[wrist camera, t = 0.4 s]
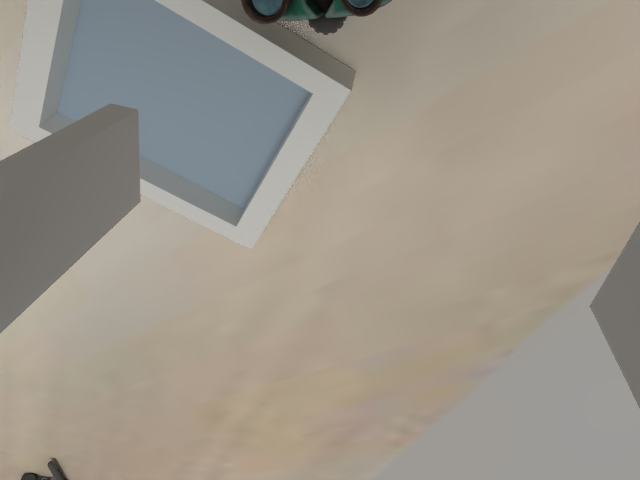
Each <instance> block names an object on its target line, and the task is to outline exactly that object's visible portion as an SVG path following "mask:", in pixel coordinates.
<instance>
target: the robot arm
mask: <svg viewBox="0 0 640 480" xmlns="http://www.w3.org/2000/svg"><path fill="white" fill-rule="evenodd" d="M139 202H140V161H139V118H138V109H134V108H129V107H125V106H120V105H116V104H111V103H110V104H108V105H106V106H105V107H103V108H101V109H99V110H97V111H95V112H93V113H91V114H89V115H87V116H85V117H84V118H82V119H80V120H78V121H76V122H74V123H72V124H70V125H68V126H66V127H64V128H63V129H61V130H59V131H57V132H55V133H53V134H51V135H49V136H47V137H45V138H43V139H42V140H40V141H38V142H36V143H34V144H32V145H30V146H28V147H26V148H24V149H23V150H21V151H19V152H17V153H15V154H13V155H11V156H9V157H7V158H5V159H3V160H2V161H0V333H1V332H2V331H3V330H4V329H5V328H7V327H8V326H9V325H10V324H11V323H12V322H13V321H14V320H15V319H16V318H17V317H18V316H19V315H20V314H21V313H22V312H24V311H25V310H26V309H27V308H28V307H29V306H30V305H31V304H32V303H33V302H34V301H35V300H36V299H37V298H38V297H39V296H40V295H42V294H43V293H44V292H45V291H46V290H47V289H48V288H49V287H50V286H51V285H52V284H53V283H54V282H55V281H56V280H57V279H59V278H60V277H61V276H62V275H63V274H64V273H65V272H66V271H67V270H68V269H69V268H70V267H71V266H72V265H73V264H74V263H76V262H77V261H78V260H79V259H80V258H81V257H82V256H83V255H84V254H85V253H86V252H87V251H88V250H89V249H90V248H91V247H93V246H94V245H95V244H96V243H97V242H98V241H99V240H100V239H101V238H102V237H103V236H104V235H105V234H106V233H107V232H108V231H110V230H111V229H112V228H113V227H114V226H115V225H116V224H117V223H118V222H119V221H120V220H121V219H122V218H123V217H124V216H125V215H127V214H128V213H129V212H130V211H131V210H132V209H133V208H134V207H135V206H136V205H137V204H138V203H139ZM590 308H591V310H592V311H593V314H594V316H595V318H596V320H597V322H598V324H599V326H600V328H601V330H602V332H603V334H604V336H605V338H606V340H607V342H608V344H609V346H610V348H611V351H612V353H613V355H614V357H615V359H616V361H617V363H618V365H619V367H620V369H621V371H622V373H623V375H624V377H625V379H626V381H627V383H628V385H629V387H630V389H631V391H632V393H633V396H634V398H635V400H636V402H637V404H638V406H639V408H640V222H639V224H638V225H637V227H636V229H635V230H634V232H633V234H632V236H631V237H630V239H629V241H628V242H627V244H626V246H625V247H624V249H623V251H622V252H621V254H620V256H619V258H618V259H617V261H616V263H615V264H614V266H613V268H612V269H611V271H610V273H609V274H608V276H607V278H606V280H605V282H604V283H603V285H602V286H601V288H600V290H599V291H598V293H597V295H596V296H595V298H594V300H593V301H592V304H591V305H590Z"/></svg>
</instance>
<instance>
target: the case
mask: <svg viewBox="0 0 640 480" xmlns="http://www.w3.org/2000/svg"><path fill="white" fill-rule="evenodd" d="M355 72H356V71H354V70H353V69H351V68H349V67H348V66H346V65H344V64H343V63H341V62H340V61H338V60H336V59H335V58H333V57H331V56H330V55H328V54H327V53H325V52H323V51H322V50H320V49H318V48H317V47H315V46H314V45H312V44H310V43H309V42H307V41H305V40H304V39H302V38H301V37H299V36H297V35H296V34H294V33H292V32H291V31H289V30H288V29H286V28H284V27H283V26H281V25H279V24H278V23H276V22H274V23H271V24H260V23H257V22H255V21H253V20H252V19H251V18H250V17H249V16H248V15H247V14H246V13H245V11H244V9H243V6H242V2H241V1H240V0H28V5H27V12H26V19H25V25H24V32H23V39H22V46H21V53H20V59H19V66H18V73H17V80H16V87H15V93H14V100H13V107H12V114H11V121H10V127H9V130H11V131H13V132H15V133H17V134H19V135H21V136H24V137H26V138H28V139H30V140H32V141H34V142H38V141H40V140H42V139H43V138H45V137H47V136H49V135H51V134H53V133H55V132H57V131H59V130H61V129H63V128H64V127H66V126H68V125H70V124H72V123H74V122H76V121H78V120H80V119H82V118H84V117H85V116H87V115H89V114H91V113H93V112H95V111H97V110H99V109H101V108H103V107H105V106H106V105H108V104H110V103H111V104H116V105H120V106H125V107H129V108H134V109H138V118H139V161H140V195H142V196H144V197H146V198H148V199H150V200H152V201H154V202H156V203H158V204H160V205H162V206H164V207H166V208H168V209H170V210H172V211H174V212H176V213H178V214H180V215H182V216H184V217H186V218H188V219H190V220H192V221H194V222H196V223H198V224H200V225H202V226H204V227H206V228H208V229H210V230H212V231H214V232H216V233H218V234H220V235H222V236H224V237H227V238H229V239H231V240H233V241H235V242H237V243H239V244H241V245H243V246H245V247H247V248H249V249H252V247H253V246H254V244H255V243H256V241H257V240H258V238H259V236H260V235H261V233H262V232H263V230H264V228H265V227H266V225H267V224H268V222H269V221H270V219H271V217H272V216H273V214H274V213H275V211H276V209H277V208H278V206H279V205H280V203H281V202H282V200H283V198H284V197H285V195H286V194H287V192H288V191H289V189H290V187H291V186H292V184H293V183H294V181H295V179H296V178H297V176H298V175H299V173H300V172H301V170H302V168H303V167H304V165H305V164H306V162H307V160H308V159H309V157H310V156H311V154H312V153H313V151H314V149H315V148H316V146H317V145H318V143H319V142H320V140H321V138H322V137H323V135H324V134H325V132H326V130H327V129H328V127H329V126H330V124H331V123H332V121H333V119H334V118H335V116H336V115H337V113H338V112H339V110H340V108H341V107H342V105H343V104H344V102H345V100H346V99H347V97H348V96H349V94H350V93H351V91H352V86H353V81H354V77H355Z"/></svg>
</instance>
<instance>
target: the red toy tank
mask: <svg viewBox="0 0 640 480" xmlns="http://www.w3.org/2000/svg"><path fill="white" fill-rule="evenodd" d="M48 467H49V469H50V471H51V472H52V474H53V476H54V477H52V478H51V477H45V476H39V475H34V474H26V473H25V474H24V475H23V477H22V478H21V480H64V478H63V476H62V474H61V473H60V471H59V469H57V468H56V466H55V464H54V463H53V462H52V461H50V462H49V463H48Z"/></svg>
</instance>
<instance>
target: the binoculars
mask: <svg viewBox="0 0 640 480" xmlns="http://www.w3.org/2000/svg"><path fill="white" fill-rule="evenodd" d="M390 1H392V0H241V2H242V6H243V9H244V11H245V13H246V14H247V15H248V16H249V17H250V18H251V19H252V20H253V21H255V22H257V23H260V24H271V23H274V22H276V21H278V20H285V21H301V20H309V25H310V27H313V28H314V29H315V31H316V32H317V33H319V32H321V33H323V34H324V35H327V34H328V33H332V34H333V33H335V32H336V31H337V29H338V28H341V27H342V26H343V21H345V20H346V18H347V16H354V15H356V16H367V15H370V14H372V13H373V12H375V11H376V10H377V9H378V8H380V7H382V6H384V5H386V4H388V3H389V2H390Z"/></svg>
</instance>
